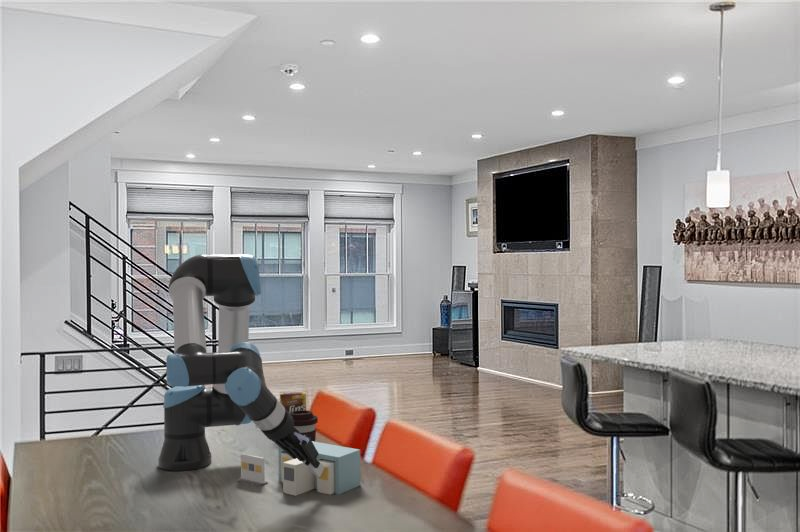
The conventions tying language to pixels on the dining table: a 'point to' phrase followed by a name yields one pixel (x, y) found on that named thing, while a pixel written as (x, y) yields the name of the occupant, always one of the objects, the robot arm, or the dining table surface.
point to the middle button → (297, 477)
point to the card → (252, 470)
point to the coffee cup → (305, 422)
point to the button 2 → (327, 477)
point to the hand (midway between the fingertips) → (320, 472)
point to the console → (338, 465)
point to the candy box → (293, 400)
